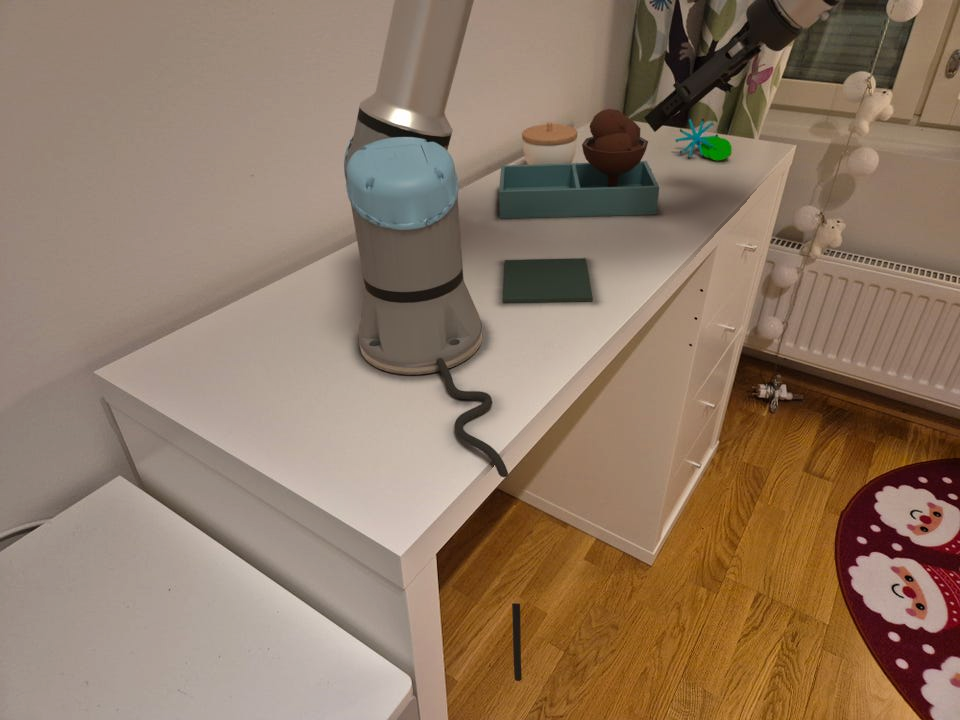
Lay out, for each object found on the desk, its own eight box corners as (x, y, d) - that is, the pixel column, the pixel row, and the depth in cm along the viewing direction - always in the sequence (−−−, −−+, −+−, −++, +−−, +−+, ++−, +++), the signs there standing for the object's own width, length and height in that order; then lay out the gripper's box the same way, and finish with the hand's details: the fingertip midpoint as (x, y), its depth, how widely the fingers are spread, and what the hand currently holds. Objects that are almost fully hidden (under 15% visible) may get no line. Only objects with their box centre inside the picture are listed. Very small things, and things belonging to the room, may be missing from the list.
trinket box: (513, 176, 130) (512, 128, 125) (535, 160, 138) (535, 113, 132) (564, 182, 126) (565, 133, 120) (583, 165, 133) (585, 117, 128)
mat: (592, 301, 88) (592, 297, 88) (503, 303, 89) (503, 299, 88) (585, 261, 98) (585, 257, 97) (505, 263, 99) (504, 259, 98)
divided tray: (656, 214, 111) (659, 186, 108) (499, 218, 113) (499, 191, 110) (644, 186, 122) (646, 160, 119) (501, 190, 124) (501, 165, 121)
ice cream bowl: (626, 212, 110) (633, 120, 102) (569, 200, 116) (571, 112, 108) (654, 192, 117) (662, 104, 109) (598, 182, 123) (602, 98, 114)
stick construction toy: (666, 144, 135) (689, 109, 133) (673, 155, 141) (695, 122, 139) (717, 170, 130) (741, 135, 128) (722, 180, 136) (745, 147, 134)
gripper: (778, 48, 80) (649, 154, 96) (825, 18, 96) (709, 113, 112) (741, -3, 79) (618, 113, 95) (795, -24, 96) (682, 77, 112)
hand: (667, 113), depth 104 cm, fingers open, 13 cm apart
